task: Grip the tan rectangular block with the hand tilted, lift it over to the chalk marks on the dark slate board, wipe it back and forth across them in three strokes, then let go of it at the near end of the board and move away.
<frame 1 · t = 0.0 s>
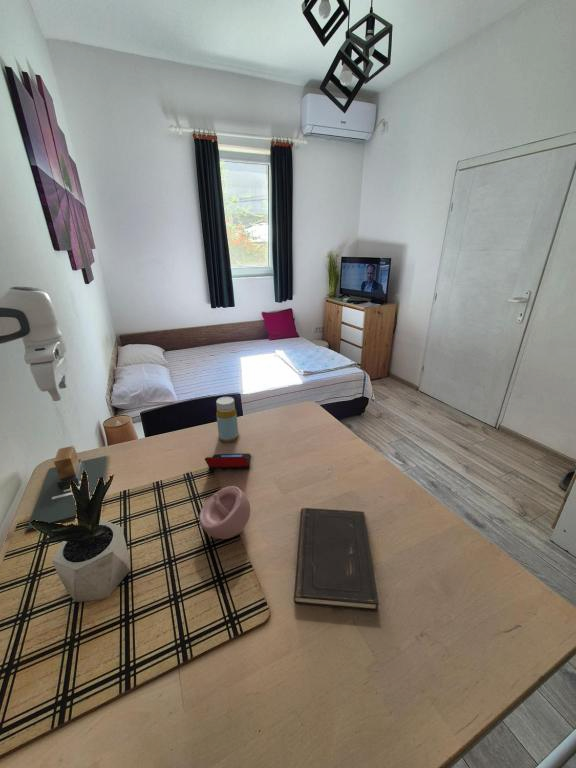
hand: (60, 393, 94), 25 cm above the table, tool pointing down, fingers open, 8 cm apart
handheld console: (230, 467, 103), on the table
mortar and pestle: (227, 530, 80), on the table
tan rectangular block: (71, 475, 98), point 1 cm above the table, touching slate board
slate board: (73, 489, 94), on the table
hardcover book: (333, 556, 73), on the table
bottle: (228, 437, 118), on the table
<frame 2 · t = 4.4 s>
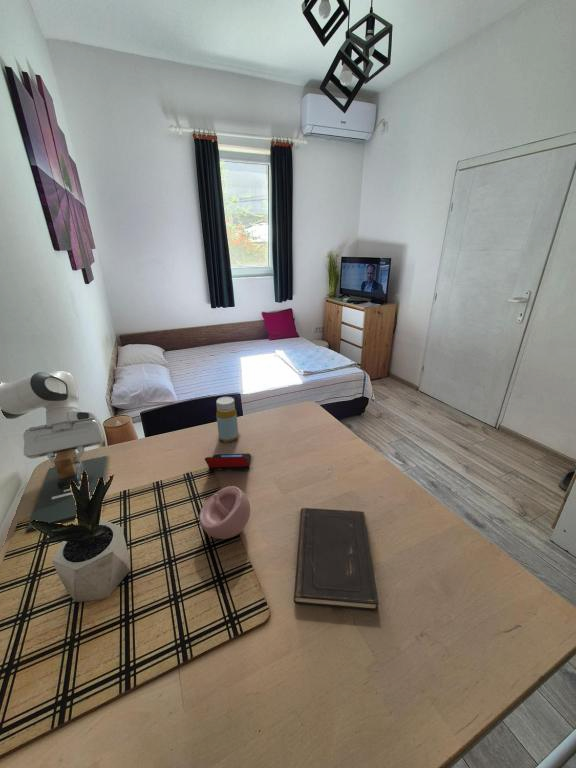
hand: (67, 465, 96), 5 cm above the table, tool tilted 45°, fingers closed on tan rectangular block, 4 cm apart
tan rectangular block: (71, 475, 98), point 1 cm above the table, touching gripper, slate board
everything else where it was.
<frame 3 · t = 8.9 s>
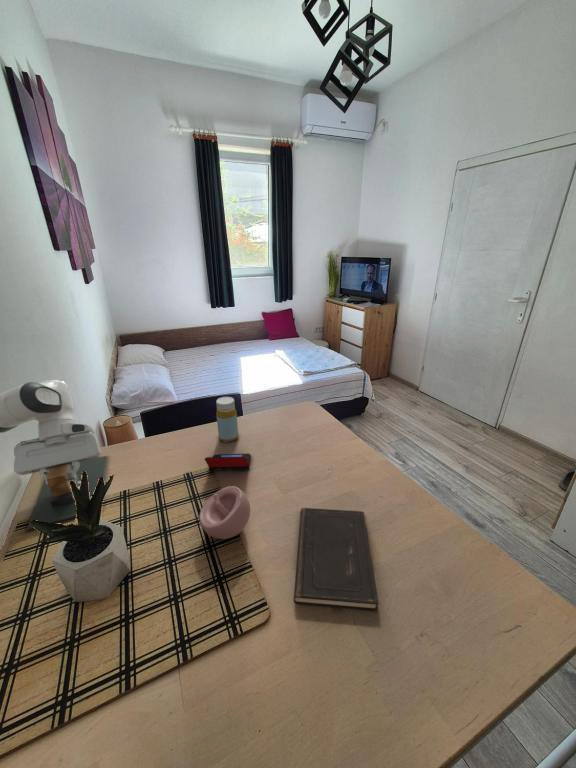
hand: (61, 482, 89), 5 cm above the table, tool tilted 45°, fingers closed on tan rectangular block, 4 cm apart
tan rectangular block: (66, 492, 91), point 1 cm above the table, touching gripper
everything else where it was.
when the fingers open (5 cm above the table, at t = 13.6 s): tan rectangular block stays where it is, resting on slate board.
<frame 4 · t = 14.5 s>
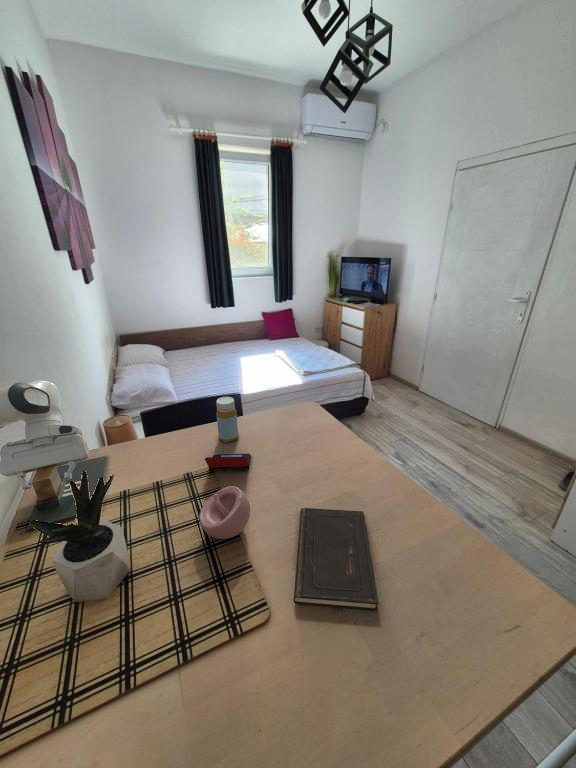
hand: (48, 483, 88), 5 cm above the table, tool tilted 45°, fingers open, 8 cm apart
tan rectangular block: (52, 495, 90), point 1 cm above the table, touching slate board
everything else where it was.
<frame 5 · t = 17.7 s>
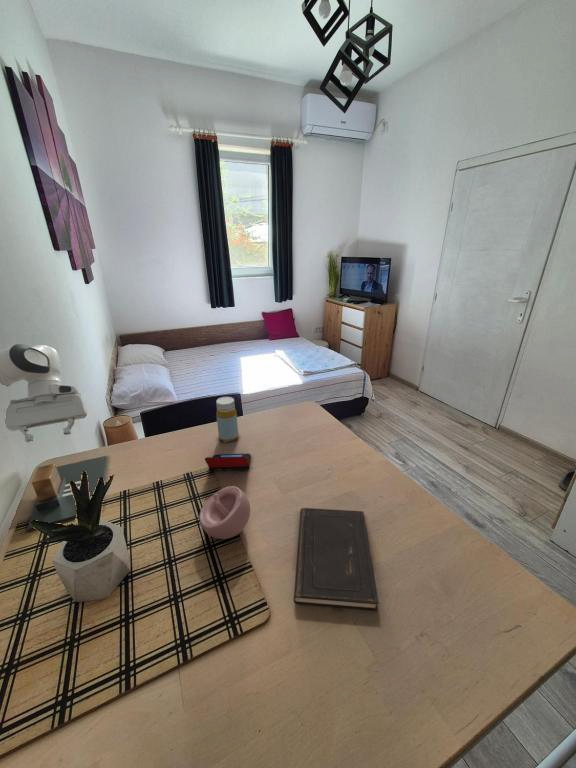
hand: (48, 437, 96), 13 cm above the table, tool tilted 45°, fingers open, 8 cm apart
nothing on the table moved.
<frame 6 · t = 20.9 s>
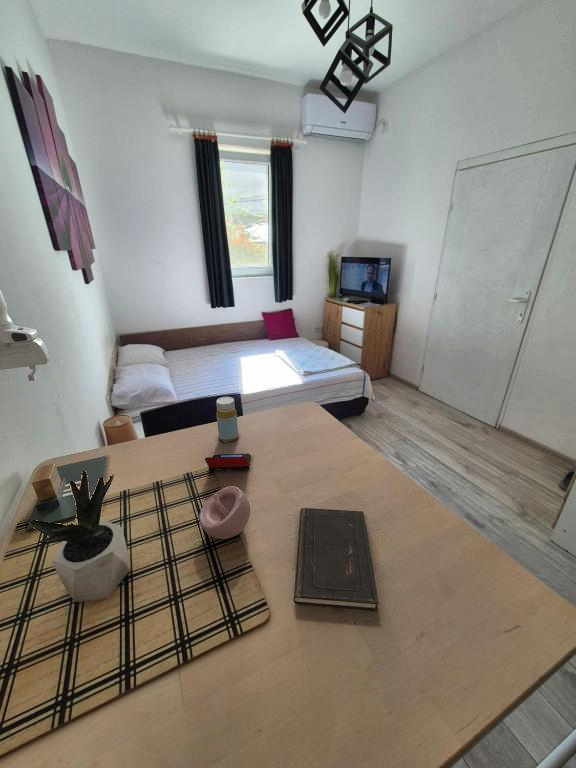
hand: (13, 383, 92), 29 cm above the table, tool pointing down, fingers open, 8 cm apart
nothing on the table moved.
at the end: tan rectangular block moved 8.7 cm from its start; tan rectangular block 0.5 cm from the target spot, point 0.8 cm above the table; tan rectangular block tilted 0° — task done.
